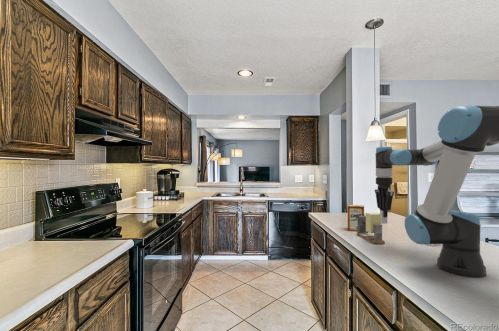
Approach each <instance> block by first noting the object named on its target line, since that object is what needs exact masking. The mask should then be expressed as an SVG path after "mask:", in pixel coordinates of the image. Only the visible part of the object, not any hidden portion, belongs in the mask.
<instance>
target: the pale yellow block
mask: <svg viewBox="0 0 499 331" xmlns="http://www.w3.org/2000/svg"><path fill="white" fill-rule="evenodd" d="M365 216H366V231H367V232H368V233H369V234H374V228H373V225H374V224H381V225H382V223H381V216H380V213H378V212H365Z"/></svg>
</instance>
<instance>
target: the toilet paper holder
mask: <svg viewBox="0 0 499 331" xmlns="http://www.w3.org/2000/svg"><path fill="white" fill-rule="evenodd" d="M373 229H374V233H373V234H372V233H369V232H367V231H366V215H364V216H358V232H356V236H358V237H359V238H361V239H363V240H365V241H367V242H369V243H371V244H373V245H385V244H386V242H385V240H383V224H382V223H381V224H374V225H373Z"/></svg>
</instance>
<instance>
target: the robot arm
mask: <svg viewBox="0 0 499 331" xmlns="http://www.w3.org/2000/svg"><path fill="white" fill-rule="evenodd" d="M437 131H438V132H437V134H438V136H439V138H440V140H439V141H437V142H435V143H432V144H430V145H427V146H425V147H422V148H421V149H405V148H396V149H393V147H392V146H377V147H376V149H375V184H376V185H377V189H374V192H375V193H374V194H375V198H376V200H375V201H376V206H377V209H379V210H380V211H379V214H380V216H381V225H383V224H388V211H391V210H392V205H393V203H392V202H393V197H394V195H395V192H394V191H392V190H391V186H392V185H393V178H392V177H393V166H399V167H400V166H401V167H404V166H424V167H425V166H426V167H427V166H434V165H435V164H437V163H438V164H437V166H436V170H435V171H434V172H435V173H434V175H433V178H432V180H431V182H430V185H429V187H428V190H427V192H426V196H425V199H424V201H423V203H422V204H418V206H417V207H416V209H415V212H414V213H410V214H408V215H406V216H405V217H404V229H405V231H406V234H407V236H408V238H409V239H410V240H411V241H412V242H413V243H415V244H417V245H425V246H430V245H429V244H440V245H442V246H441V249H440V252H439V256H438V257H437V261H436V266H437V267H438V268H440V269H441V270H444V271H445V272H448V273H450V274H454V275H458V276H463V277H471V278H481V277H483V278H484V277H485V276H487V267H486V266H485V264H484V261H483V258H482V255H481V226H482V224H481V220H480V217H479V215H477V214H476V213H472V212H467V211H460V210H454V209H453V207H454V204H455V202H456V200H457V197H458V195H459V193H460V191H461V188H462V186H463V184H464V181H465V179H466V177H467V174H468V173H469V170H470V167H471V165H472V163H473V161H474V158H475V156H476V155H478V154H481V153H483V152H484V151H485V148H486V147H490V146H494V145H497V144H499V105H495V106H494V105H493V106H492V105H472V104H468V105H460V106H455V107H452V108H451V109H449V110H447V111H446V112H445V113H444V114H443V115H442V117H441V118H440V120H439V122H438V124H437ZM438 161H439V162H438Z"/></svg>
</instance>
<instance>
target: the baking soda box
mask: <svg viewBox="0 0 499 331" xmlns="http://www.w3.org/2000/svg"><path fill="white" fill-rule="evenodd" d="M358 216H365V206H364V205H362V204H347V231H348V232H355V233H358Z"/></svg>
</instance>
